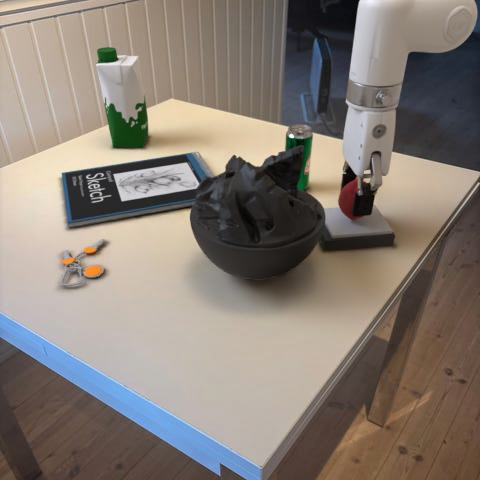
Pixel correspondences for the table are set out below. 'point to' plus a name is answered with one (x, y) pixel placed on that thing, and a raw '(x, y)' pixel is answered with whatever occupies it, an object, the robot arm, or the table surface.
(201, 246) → the coal bowl
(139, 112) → the milk carton
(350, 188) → the onion
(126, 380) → the table surface
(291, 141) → the soda can
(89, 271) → the key chain
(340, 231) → the scale
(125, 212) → the sketchbook
